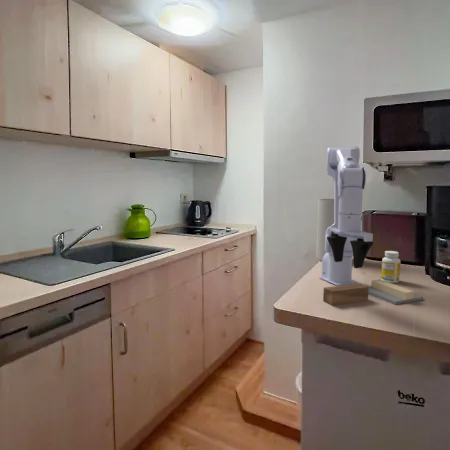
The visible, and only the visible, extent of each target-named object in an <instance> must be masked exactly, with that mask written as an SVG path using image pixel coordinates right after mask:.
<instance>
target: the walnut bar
mask: <svg viewBox="0 0 450 450" xmlns="http://www.w3.org/2000/svg"><path fill="white" fill-rule="evenodd" d="M369 287H370V286H367V285H366V284H363V283H360V282H358V283H355V284H347V285H339V286H337V285H334V286H332V285H331V286H326V287H325V286H324V287H323V293H322V294H323V295H322V296H323V298H322V299H323V300H322V301H323V302H324V303H326V304H328V305H330V306H337V305H345V304H350V303H357V302H363V301H369V294H368V290H369Z"/></svg>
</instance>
